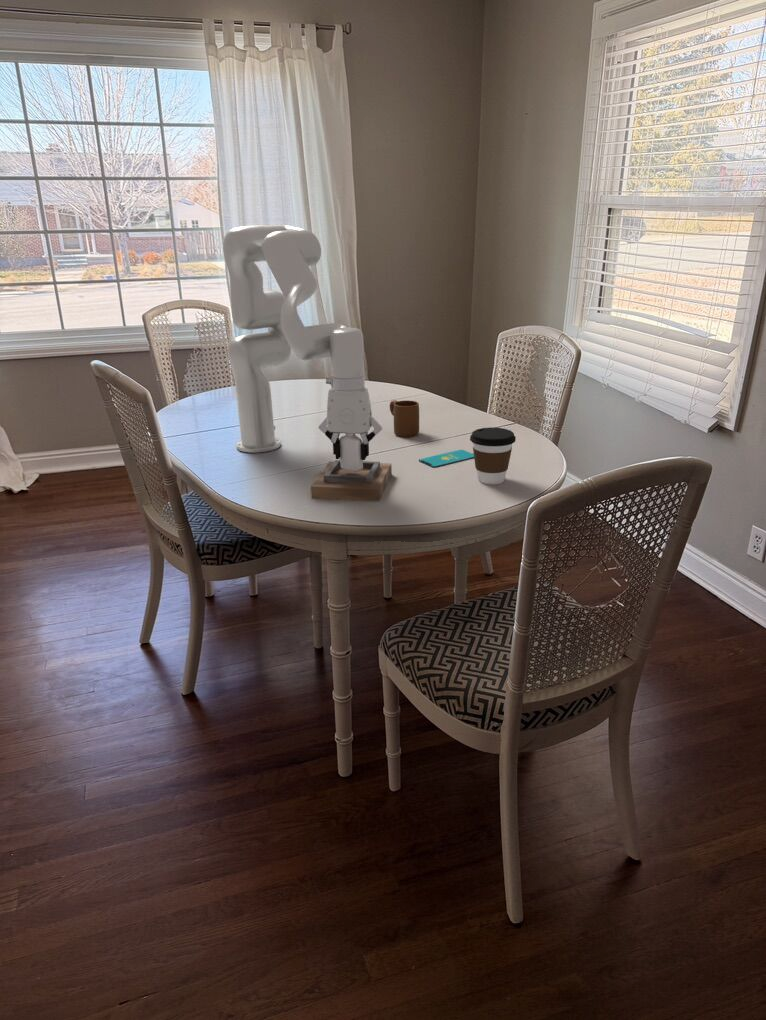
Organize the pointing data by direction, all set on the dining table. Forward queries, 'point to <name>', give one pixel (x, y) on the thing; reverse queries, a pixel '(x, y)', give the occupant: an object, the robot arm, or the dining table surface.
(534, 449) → the dining table surface
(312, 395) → the dining table surface
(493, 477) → the coffee cup
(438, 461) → the smartphone
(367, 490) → the display stand
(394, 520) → the dining table surface
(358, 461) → the eye dropper bottle
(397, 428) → the mug
